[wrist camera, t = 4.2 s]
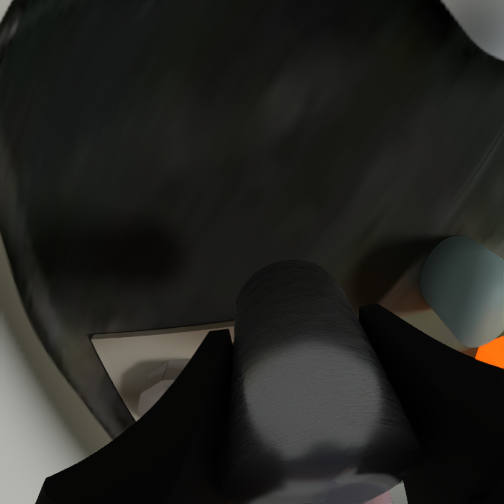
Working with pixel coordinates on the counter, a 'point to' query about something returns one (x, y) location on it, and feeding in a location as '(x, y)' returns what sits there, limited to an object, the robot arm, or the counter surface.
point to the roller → (465, 289)
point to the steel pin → (309, 397)
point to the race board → (149, 360)
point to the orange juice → (492, 352)
